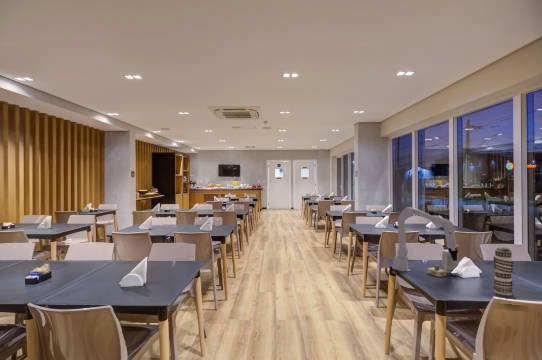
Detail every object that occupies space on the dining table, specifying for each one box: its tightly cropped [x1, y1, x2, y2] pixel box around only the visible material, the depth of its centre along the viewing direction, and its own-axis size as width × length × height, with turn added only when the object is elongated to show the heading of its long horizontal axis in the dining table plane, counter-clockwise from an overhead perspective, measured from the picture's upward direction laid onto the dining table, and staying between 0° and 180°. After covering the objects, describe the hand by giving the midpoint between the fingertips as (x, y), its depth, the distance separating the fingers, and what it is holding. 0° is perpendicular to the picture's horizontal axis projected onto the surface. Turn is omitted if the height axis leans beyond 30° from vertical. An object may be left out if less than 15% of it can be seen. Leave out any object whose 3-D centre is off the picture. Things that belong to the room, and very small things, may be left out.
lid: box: [426, 264, 447, 273], centre depth 216 cm, size 9×7×4 cm
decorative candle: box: [493, 246, 514, 296], centre depth 183 cm, size 9×9×25 cm
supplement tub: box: [441, 249, 459, 274], centre depth 224 cm, size 10×10×15 cm
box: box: [427, 270, 448, 278], centre depth 216 cm, size 9×7×3 cm
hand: (454, 259), depth 215 cm, fingers open, 6 cm apart
